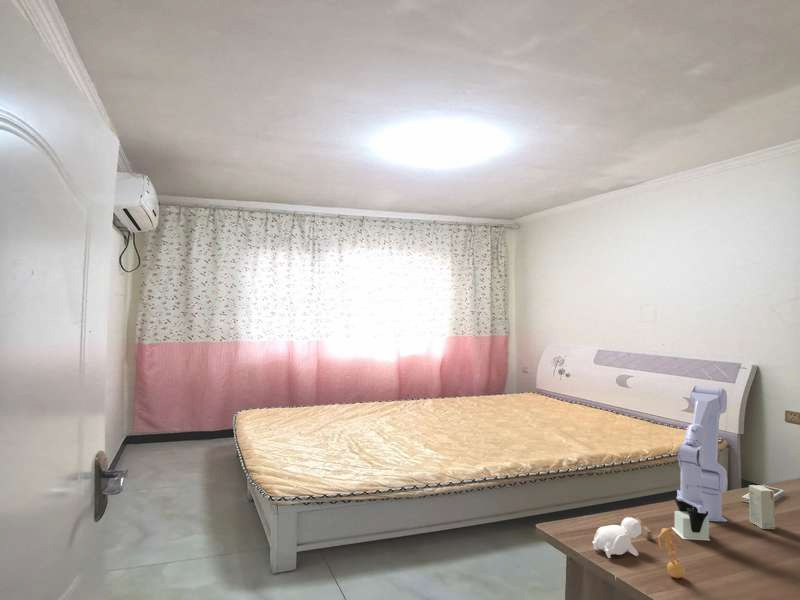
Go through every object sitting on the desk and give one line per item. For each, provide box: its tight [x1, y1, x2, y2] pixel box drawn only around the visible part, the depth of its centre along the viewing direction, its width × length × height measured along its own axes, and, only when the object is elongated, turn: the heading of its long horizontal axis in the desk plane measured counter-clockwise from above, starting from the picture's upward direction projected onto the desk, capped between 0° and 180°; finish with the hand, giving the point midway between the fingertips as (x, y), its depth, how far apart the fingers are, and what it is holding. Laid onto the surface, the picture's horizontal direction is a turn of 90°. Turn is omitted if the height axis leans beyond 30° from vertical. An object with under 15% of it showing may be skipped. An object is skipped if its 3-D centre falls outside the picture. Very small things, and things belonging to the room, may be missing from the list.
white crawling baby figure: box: [591, 516, 642, 559], centre depth 146 cm, size 9×8×15 cm
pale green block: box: [674, 510, 710, 539], centre depth 157 cm, size 6×8×6 cm
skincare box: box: [748, 484, 776, 530], centre depth 165 cm, size 6×4×12 cm
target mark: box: [670, 526, 711, 541], centre depth 157 cm, size 8×8×1 cm
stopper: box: [632, 515, 653, 541], centre depth 159 cm, size 12×1×2 cm, turn 175°
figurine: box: [657, 527, 685, 579], centre depth 132 cm, size 8×6×12 cm
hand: (690, 527), depth 157 cm, fingers closed on pale green block, 6 cm apart
